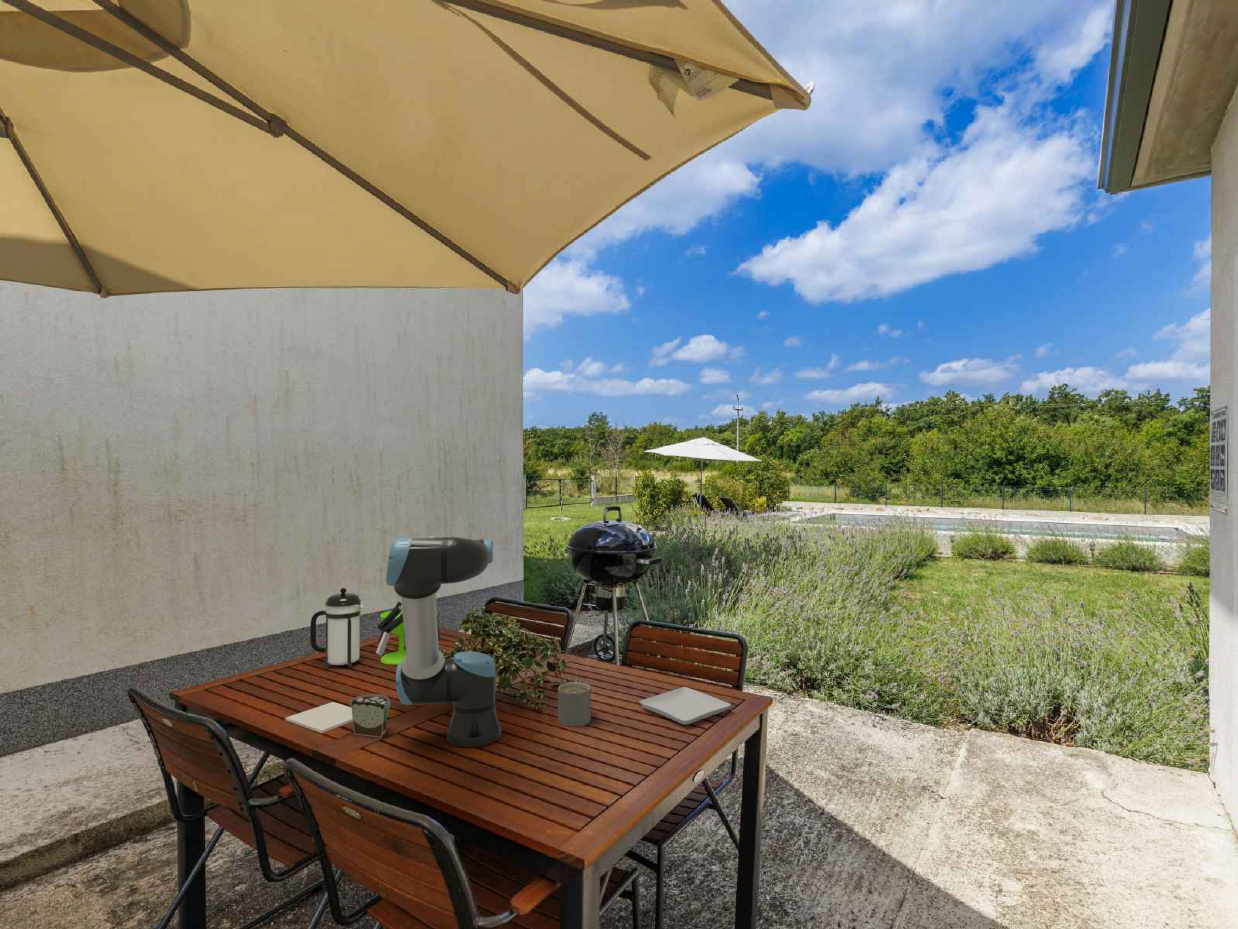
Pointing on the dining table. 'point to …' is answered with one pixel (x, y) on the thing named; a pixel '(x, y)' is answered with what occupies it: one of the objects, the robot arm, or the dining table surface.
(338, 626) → the coffee press
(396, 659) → the wineglass
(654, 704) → the salad plate
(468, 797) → the dining table surface
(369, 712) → the food container
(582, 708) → the grey canister
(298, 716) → the ceramic tile
